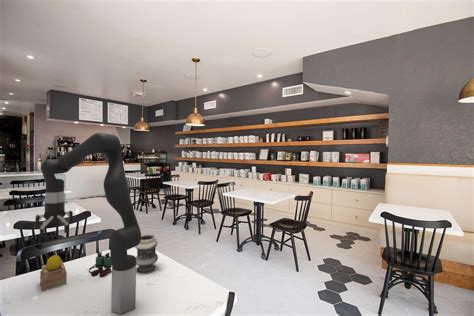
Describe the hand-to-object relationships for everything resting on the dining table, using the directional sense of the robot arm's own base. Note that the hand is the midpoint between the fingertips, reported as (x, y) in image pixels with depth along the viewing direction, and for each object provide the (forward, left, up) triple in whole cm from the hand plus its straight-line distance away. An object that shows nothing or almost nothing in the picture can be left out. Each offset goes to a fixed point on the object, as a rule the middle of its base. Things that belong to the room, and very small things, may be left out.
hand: (54, 234), depth 111 cm
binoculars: (-5, -19, -24) cm, 31 cm away
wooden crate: (0, 0, -24) cm, 24 cm away
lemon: (0, 0, -18) cm, 18 cm away
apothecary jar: (-15, -39, -24) cm, 48 cm away
